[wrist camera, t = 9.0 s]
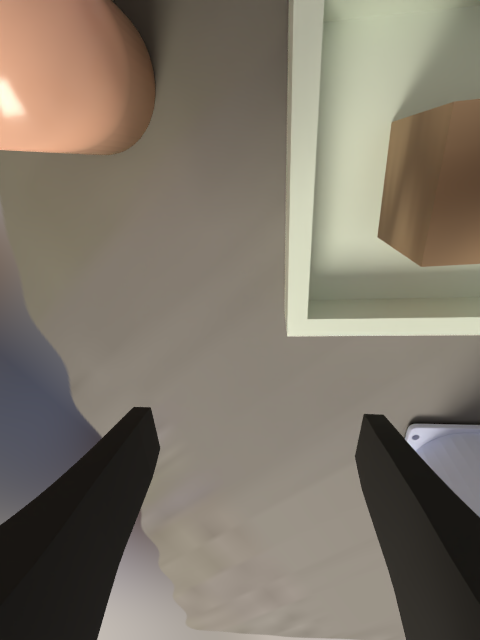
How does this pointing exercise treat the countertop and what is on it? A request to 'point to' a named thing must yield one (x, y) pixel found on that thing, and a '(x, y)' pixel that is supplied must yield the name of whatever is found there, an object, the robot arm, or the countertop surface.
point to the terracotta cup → (72, 77)
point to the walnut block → (434, 186)
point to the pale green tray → (368, 163)
